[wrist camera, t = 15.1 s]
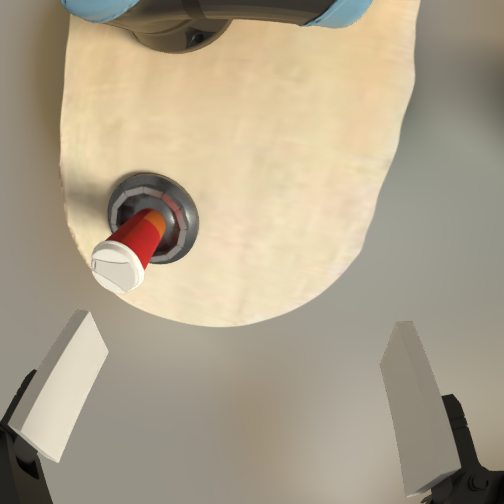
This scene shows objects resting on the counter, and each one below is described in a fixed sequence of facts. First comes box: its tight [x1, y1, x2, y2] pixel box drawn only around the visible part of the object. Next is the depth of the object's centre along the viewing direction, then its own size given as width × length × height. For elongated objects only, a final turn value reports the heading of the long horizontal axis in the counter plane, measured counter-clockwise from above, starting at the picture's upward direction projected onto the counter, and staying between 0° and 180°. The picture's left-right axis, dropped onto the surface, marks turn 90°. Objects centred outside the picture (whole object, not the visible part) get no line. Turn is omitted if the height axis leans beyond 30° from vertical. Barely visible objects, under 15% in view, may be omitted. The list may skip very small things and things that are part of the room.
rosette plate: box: [108, 173, 199, 264], centre depth 47 cm, size 16×16×3 cm
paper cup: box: [91, 208, 166, 293], centre depth 42 cm, size 8×8×14 cm
